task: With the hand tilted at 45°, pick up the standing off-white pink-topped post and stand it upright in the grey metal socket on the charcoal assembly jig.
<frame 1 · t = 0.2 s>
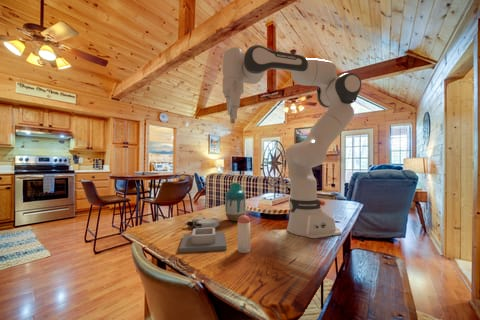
hand: (233, 121, 88), 48 cm above the table, tool pointing down, fingers open, 8 cm apart
vase: (235, 220, 108), on the table
pink-topped post: (243, 250, 73), on the table
robot toy: (203, 228, 96), on the table
jig: (203, 243, 79), on the table
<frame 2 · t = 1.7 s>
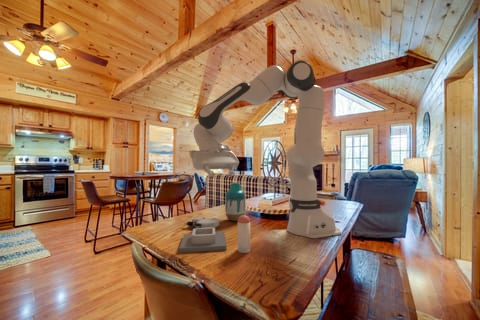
hand: (222, 175, 83), 25 cm above the table, tool tilted 45°, fingers open, 8 cm apart
nothing on the table moved.
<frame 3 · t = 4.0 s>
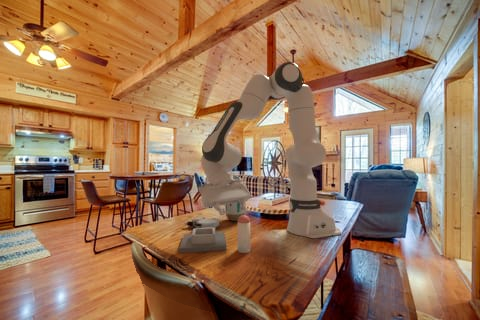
hand: (234, 212, 77), 12 cm above the table, tool tilted 45°, fingers open, 8 cm apart
nothing on the table moved.
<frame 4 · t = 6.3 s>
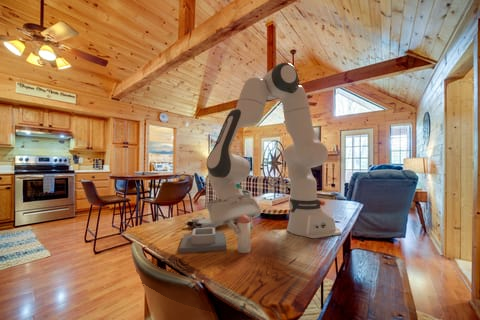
hand: (245, 230, 72), 7 cm above the table, tool tilted 45°, fingers closed on pink-topped post, 4 cm apart
pink-topped post: (243, 250, 73), on the table, touching gripper
everything else where it was.
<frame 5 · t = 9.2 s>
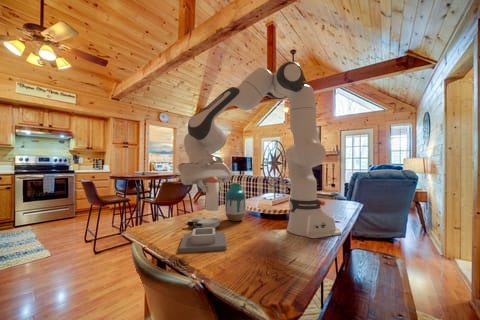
hand: (213, 190, 76), 20 cm above the table, tool tilted 45°, fingers closed on pink-topped post, 4 cm apart
pink-topped post: (212, 209, 77), point 13 cm above the table, touching gripper
everything else where it was.
when the fingers open (9 cm above the table, at t = 12.4 s): pink-topped post stays where it is, resting on jig.
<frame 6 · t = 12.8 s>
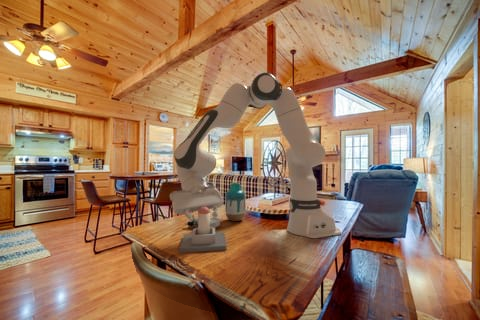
hand: (204, 218, 78), 9 cm above the table, tool tilted 45°, fingers open, 8 cm apart
pink-topped post: (204, 239, 79), point 2 cm above the table, touching jig
everything else where it was.
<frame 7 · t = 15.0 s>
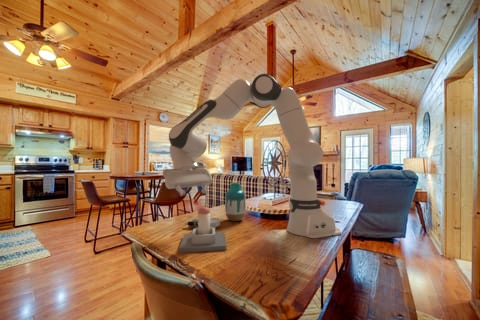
hand: (194, 193, 86), 18 cm above the table, tool tilted 45°, fingers open, 8 cm apart
nothing on the table moved.
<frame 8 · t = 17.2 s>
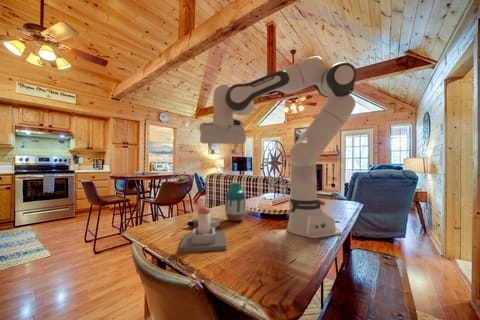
hand: (223, 153, 93), 34 cm above the table, tool pointing down, fingers open, 8 cm apart
nothing on the table moved.
at the end: pink-topped post 0.1 cm off-centre on the jig, point 1.5 cm above the jig's base; pink-topped post tilted 0°; the gripper is holding nothing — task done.
